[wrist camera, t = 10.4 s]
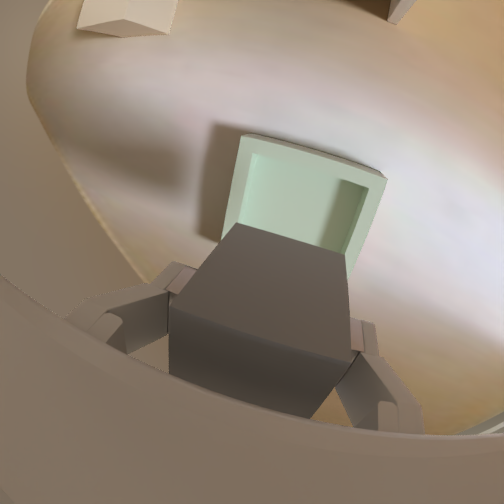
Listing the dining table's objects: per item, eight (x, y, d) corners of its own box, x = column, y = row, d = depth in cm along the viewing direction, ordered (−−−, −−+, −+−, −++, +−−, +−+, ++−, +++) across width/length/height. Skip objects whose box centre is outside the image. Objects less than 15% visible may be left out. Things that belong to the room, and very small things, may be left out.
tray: (251, 133, 16) (241, 135, 14) (380, 171, 15) (387, 179, 13) (227, 247, 20) (217, 262, 18) (338, 281, 19) (338, 300, 17)
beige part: (136, -7, 13) (92, -24, 8) (182, -13, 12) (142, -39, 8) (124, 37, 15) (76, 28, 10) (169, 34, 14) (123, 18, 10)
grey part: (236, 222, 10) (169, 305, 6) (344, 254, 10) (351, 362, 5) (220, 307, 12) (169, 398, 8) (310, 335, 12) (293, 438, 7)
